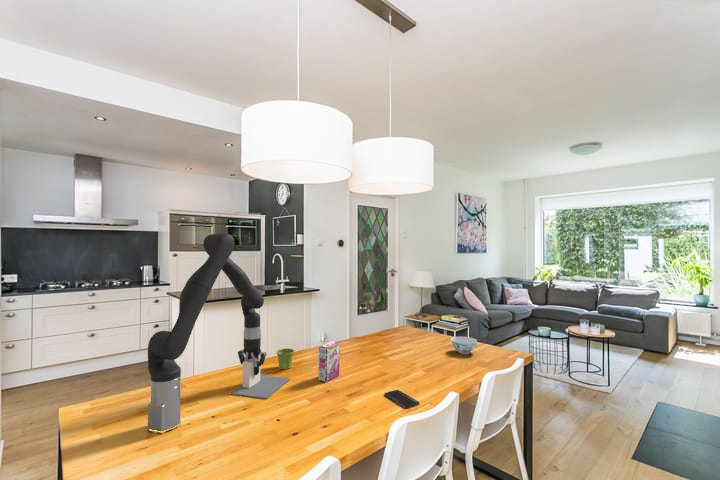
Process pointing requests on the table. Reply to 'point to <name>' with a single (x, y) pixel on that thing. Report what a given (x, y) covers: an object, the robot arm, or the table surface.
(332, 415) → the table surface
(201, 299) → the robot arm
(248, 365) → the cream block
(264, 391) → the slate mat
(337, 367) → the candy bar box
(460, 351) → the chinaware
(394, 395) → the phone
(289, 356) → the plant pot
